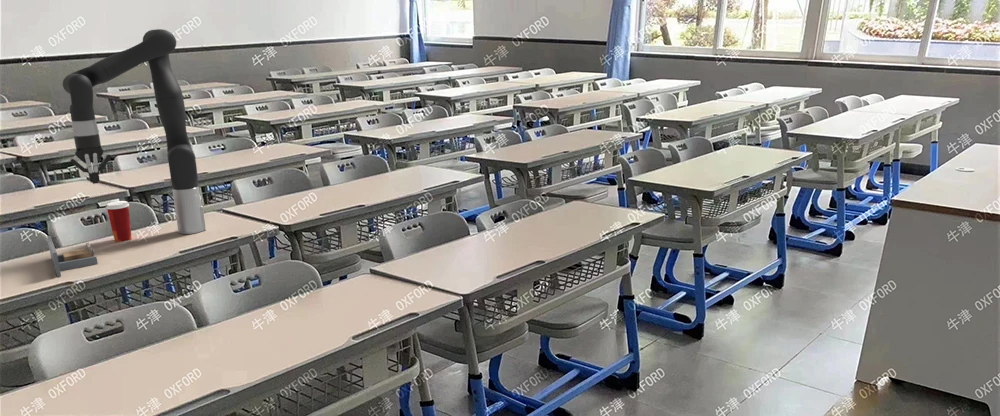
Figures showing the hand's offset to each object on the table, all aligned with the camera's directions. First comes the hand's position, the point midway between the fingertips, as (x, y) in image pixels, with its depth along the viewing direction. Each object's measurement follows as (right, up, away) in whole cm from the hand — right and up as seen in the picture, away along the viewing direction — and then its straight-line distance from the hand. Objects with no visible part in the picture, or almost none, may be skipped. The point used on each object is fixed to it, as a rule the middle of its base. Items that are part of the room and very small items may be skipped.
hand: (95, 183), depth 245 cm
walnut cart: (-1, -27, -8) cm, 28 cm away
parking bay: (-1, -27, -8) cm, 28 cm away
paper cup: (0, -21, +18) cm, 27 cm away
